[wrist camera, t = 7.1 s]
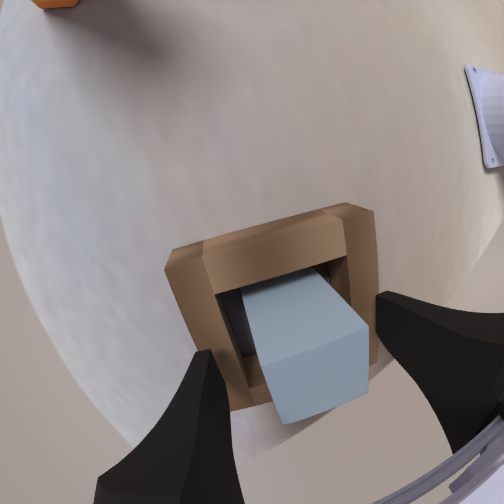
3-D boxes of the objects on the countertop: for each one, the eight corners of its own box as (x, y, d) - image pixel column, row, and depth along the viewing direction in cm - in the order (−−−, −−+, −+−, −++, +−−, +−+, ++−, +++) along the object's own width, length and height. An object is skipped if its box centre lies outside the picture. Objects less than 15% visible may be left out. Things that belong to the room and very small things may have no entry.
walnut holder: (345, 202, 13) (373, 211, 10) (357, 338, 15) (376, 361, 13) (172, 249, 12) (164, 269, 10) (225, 381, 15) (228, 411, 12)
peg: (306, 261, 13) (368, 326, 8) (317, 318, 14) (367, 393, 9) (238, 283, 13) (260, 365, 7) (256, 338, 14) (282, 425, 9)
